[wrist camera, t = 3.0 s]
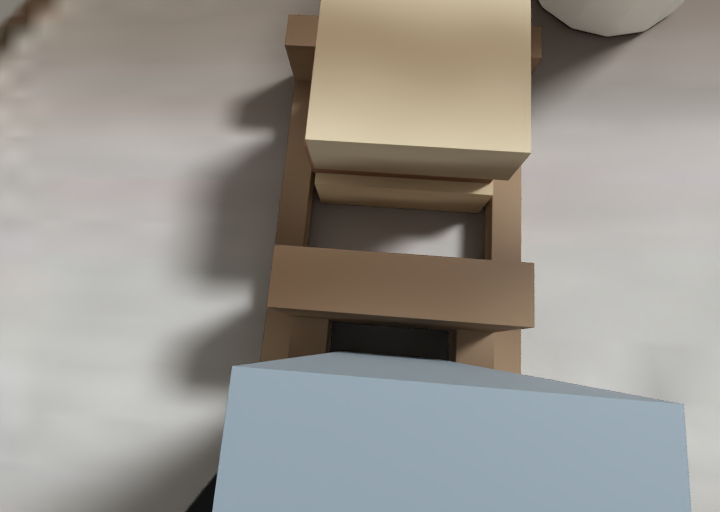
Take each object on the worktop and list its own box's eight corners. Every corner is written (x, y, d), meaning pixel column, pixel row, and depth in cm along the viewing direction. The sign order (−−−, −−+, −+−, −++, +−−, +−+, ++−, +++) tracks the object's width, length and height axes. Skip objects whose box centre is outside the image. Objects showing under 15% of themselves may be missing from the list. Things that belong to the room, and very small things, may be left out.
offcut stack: (478, 221, 16) (535, 152, 11) (318, 210, 16) (289, 138, 11) (480, 114, 17) (534, -1, 11) (328, 106, 17) (307, -11, 12)
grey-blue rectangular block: (428, 480, 14) (743, 1233, 2) (333, 471, 15) (128, 1125, 2) (433, 358, 15) (683, 403, 3) (343, 350, 15) (232, 365, 3)
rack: (509, 531, 14) (583, 630, 9) (250, 506, 14) (186, 588, 9) (513, 80, 17) (567, -24, 12) (302, 69, 18) (275, -37, 13)
